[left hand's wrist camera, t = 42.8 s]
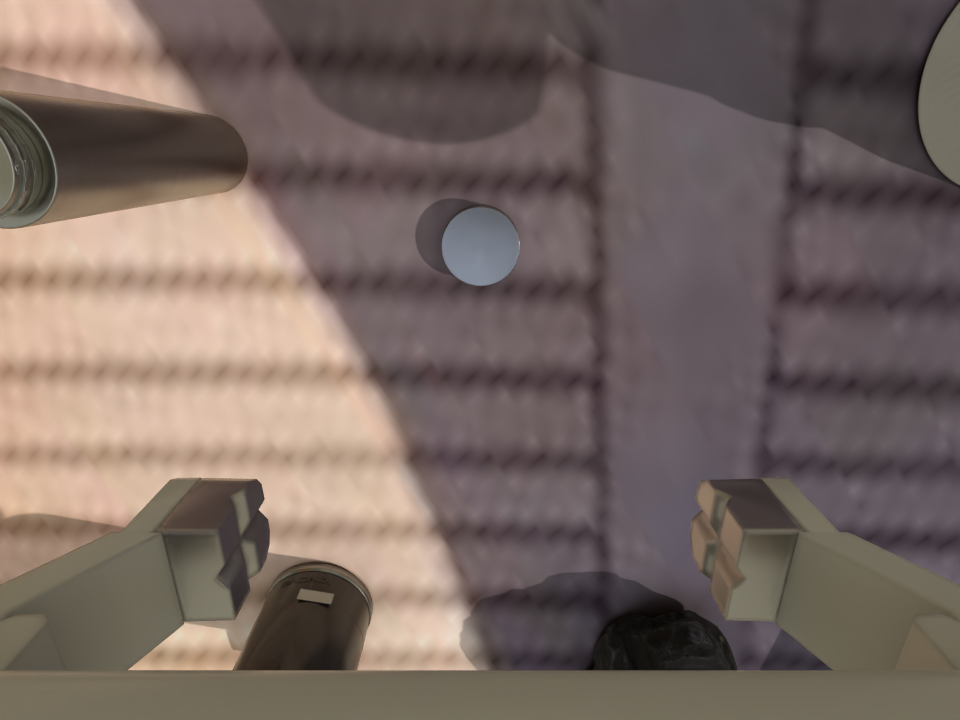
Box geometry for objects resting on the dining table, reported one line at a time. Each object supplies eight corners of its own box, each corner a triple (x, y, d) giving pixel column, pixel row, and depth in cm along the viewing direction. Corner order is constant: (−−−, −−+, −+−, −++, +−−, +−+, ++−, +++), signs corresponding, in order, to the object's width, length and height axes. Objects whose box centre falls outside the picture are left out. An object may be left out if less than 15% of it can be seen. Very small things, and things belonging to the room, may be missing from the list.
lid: (451, 287, 40) (450, 292, 38) (435, 213, 38) (433, 215, 36) (524, 273, 39) (526, 277, 38) (511, 197, 37) (512, 199, 36)
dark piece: (246, 119, 36) (15, 92, 18) (249, 196, 37) (41, 241, 20) (170, 110, 36) (-139, 74, 18) (177, 188, 37) (-99, 226, 20)
